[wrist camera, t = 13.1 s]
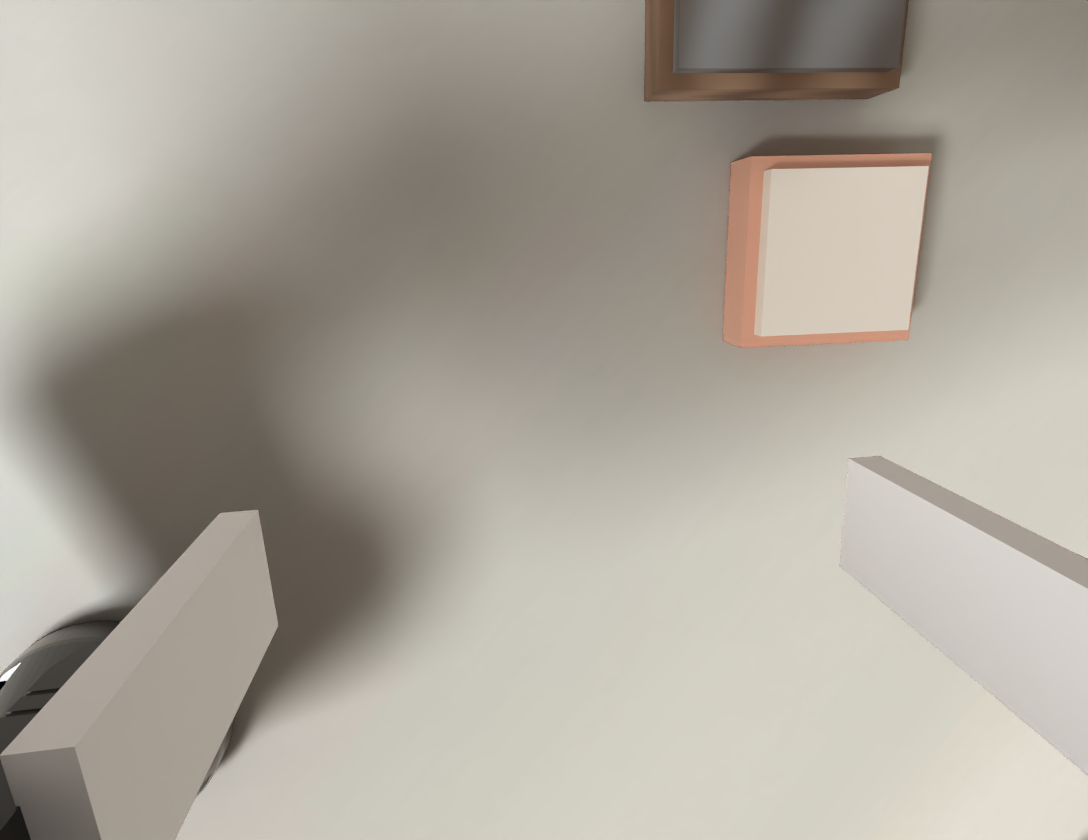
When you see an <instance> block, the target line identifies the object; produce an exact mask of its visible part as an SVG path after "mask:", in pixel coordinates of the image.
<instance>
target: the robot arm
mask: <svg viewBox="0 0 1088 840" xmlns="http://www.w3.org/2000/svg"><path fill="white" fill-rule="evenodd" d="M839 566H840V567H841V568H842V569H843V570H844V571H846V572H847V573H848V574H849V575H850V576H852V577H853V578H854V579H855V580H856V581H858V582H859V583H860V584H861V585H862V586H863V587H865V588H866V589H867V590H868V591H869V592H871V593H872V594H873V595H874V596H875V597H876V598H878V599H879V600H880V601H881V602H882V603H884V604H885V605H886V606H887V607H888V608H890V609H891V610H892V611H893V612H894V613H895V614H897V615H898V616H899V617H900V618H901V619H903V620H904V621H905V622H906V623H907V624H908V625H910V626H911V627H912V628H913V629H914V630H916V631H917V632H918V633H919V634H920V635H922V636H923V637H924V638H925V639H926V640H927V641H929V642H930V643H931V644H932V645H933V646H935V647H936V648H937V649H938V650H939V651H940V652H942V653H943V654H944V655H945V656H946V657H948V658H949V659H950V660H951V661H952V662H954V663H955V664H956V665H957V666H958V667H959V668H961V669H962V670H963V671H964V672H965V673H967V674H968V675H969V676H970V677H971V678H972V679H974V680H975V681H976V682H977V683H978V684H980V685H981V686H982V687H983V688H984V689H986V690H987V691H988V692H989V693H990V694H991V695H993V696H994V697H995V698H996V699H997V700H999V701H1000V702H1001V703H1002V704H1003V705H1004V706H1006V707H1007V708H1008V709H1009V710H1010V711H1012V712H1013V713H1014V714H1015V715H1016V716H1018V717H1019V718H1020V719H1021V720H1022V721H1023V722H1025V723H1026V724H1027V725H1028V726H1029V727H1031V728H1032V729H1033V730H1034V731H1035V732H1036V733H1038V734H1039V735H1040V736H1041V737H1042V738H1044V739H1045V740H1046V741H1047V742H1048V743H1050V744H1051V745H1052V746H1053V747H1054V748H1055V749H1057V750H1058V751H1059V752H1060V753H1061V754H1063V755H1064V756H1065V757H1066V758H1067V759H1068V760H1070V761H1071V762H1072V763H1073V764H1074V765H1076V766H1077V767H1078V768H1079V769H1080V770H1082V771H1083V772H1084V773H1085V774H1086V775H1087V776H1088V559H1086V558H1084V557H1082V556H1080V555H1078V554H1076V553H1074V552H1072V551H1070V550H1068V549H1066V548H1064V547H1062V546H1060V545H1058V544H1056V543H1054V542H1052V541H1050V540H1048V539H1046V538H1044V537H1042V536H1040V535H1038V534H1036V533H1034V532H1032V531H1030V530H1028V529H1026V528H1024V527H1022V526H1020V525H1018V524H1016V523H1014V522H1012V521H1010V520H1008V519H1006V518H1004V517H1002V516H1000V515H998V514H996V513H994V512H992V511H990V510H988V509H985V508H983V507H981V506H979V505H977V504H975V503H973V502H971V501H969V500H967V499H965V498H963V497H961V496H959V495H957V494H955V493H953V492H951V491H949V490H947V489H945V488H943V487H941V486H939V485H937V484H935V483H933V482H931V481H929V480H927V479H925V478H923V477H921V476H919V475H917V474H915V473H913V472H911V471H909V470H907V469H905V468H903V467H901V466H899V465H897V464H895V463H893V462H891V461H889V460H887V459H885V458H883V457H881V456H871V457H860V458H849V461H848V473H847V484H846V496H845V507H844V519H843V531H842V542H841V554H840V565H839ZM277 628H278V620H277V615H276V609H275V603H274V597H273V592H272V586H271V580H270V575H269V569H268V563H267V558H266V552H265V546H264V540H263V535H262V529H261V523H260V518H259V512H258V510H249V511H237V512H226V513H219V514H218V516H217V517H216V518H215V519H214V520H213V521H212V522H211V523H210V524H209V525H208V527H207V528H206V529H205V530H204V531H203V532H202V533H201V534H200V535H199V536H198V538H197V539H196V540H195V541H194V542H193V543H192V544H191V545H190V546H189V547H188V549H187V550H186V551H185V552H184V553H183V554H182V555H181V556H180V557H179V558H178V560H177V561H176V562H175V563H174V564H173V565H172V566H171V567H170V568H169V569H168V571H167V572H166V573H165V574H164V575H163V576H162V577H161V578H160V579H159V580H158V582H157V583H156V584H155V585H154V586H153V587H152V588H151V589H150V590H149V591H148V593H147V594H146V595H145V596H144V597H143V598H142V599H141V600H140V601H139V602H138V604H137V605H136V606H135V607H134V608H133V609H132V610H131V611H130V612H129V613H128V615H127V616H126V617H125V618H124V619H123V620H122V621H121V622H118V621H98V622H88V623H82V624H77V625H73V626H69V627H66V628H63V629H60V630H58V631H55V632H53V633H51V634H49V635H47V636H45V637H43V638H42V639H40V640H39V641H37V642H36V643H34V644H33V645H32V646H30V647H29V648H28V649H27V650H26V651H25V652H23V653H22V654H21V655H20V656H19V657H18V658H17V659H16V660H15V661H14V662H13V663H12V664H10V665H9V666H8V667H7V668H6V669H5V670H4V671H3V672H2V673H1V675H0V840H175V838H176V836H177V834H178V832H179V830H180V828H181V826H182V824H183V822H184V820H185V818H186V816H187V814H188V812H189V810H190V807H191V805H192V803H193V801H194V799H195V798H196V797H197V796H198V795H199V794H200V793H201V792H202V791H203V789H204V788H205V787H206V785H207V784H208V783H209V781H210V780H211V778H212V777H213V775H214V773H215V771H216V770H217V768H218V766H219V764H220V761H221V759H222V757H223V755H224V753H225V751H226V749H227V747H228V744H229V741H230V738H231V734H232V728H233V719H234V716H235V714H236V712H237V710H238V708H239V706H240V704H241V702H242V700H243V698H244V696H245V694H246V692H247V690H248V687H249V685H250V683H251V681H252V679H253V677H254V675H255V673H256V671H257V669H258V667H259V665H260V663H261V661H262V659H263V656H264V654H265V652H266V650H267V648H268V646H269V644H270V642H271V640H272V638H273V636H274V634H275V632H276V630H277Z"/></svg>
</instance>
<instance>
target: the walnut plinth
mask: <svg viewBox="0 0 1088 840" xmlns="http://www.w3.org/2000/svg"><path fill="white" fill-rule="evenodd" d="M908 1H909V0H646V6H645V85H644V101H702V100H809V99H869V98H872V97H875V96H877V95H880V94H883V93H886V92H888V91H891V90H894V89H897V88H899V83H900V74H901V65H902V55H903V46H904V37H905V28H906V19H907V10H908Z"/></svg>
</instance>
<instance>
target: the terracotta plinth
mask: <svg viewBox="0 0 1088 840" xmlns="http://www.w3.org/2000/svg"><path fill="white" fill-rule="evenodd" d="M931 156H932V153H911V154H855V155H799V156H751V157H747V158H744V159H741V160H738V161H735V162H731V174H730V195H729V216H728V237H727V259H726V280H725V301H724V322H723V341H725V342H728V343H730V344H733V345H735V346H738V347H740V348H744V347H766V346H787V345H809V344H830V343H851V342H873V341H894V340H908V339H909V331H910V323H911V315H912V307H913V299H914V291H915V283H916V275H917V268H918V260H919V252H920V244H921V236H922V228H923V220H924V212H925V204H926V196H927V188H928V180H929V172H930V164H931Z"/></svg>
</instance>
